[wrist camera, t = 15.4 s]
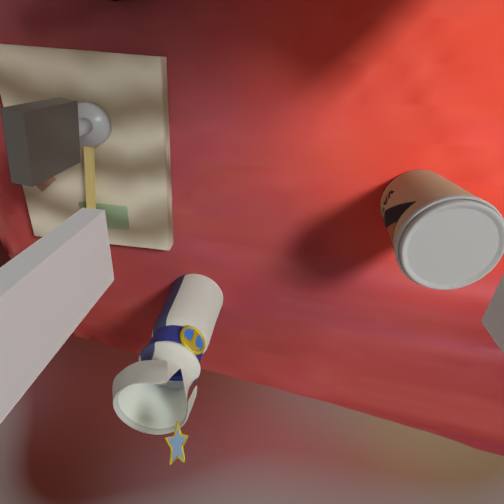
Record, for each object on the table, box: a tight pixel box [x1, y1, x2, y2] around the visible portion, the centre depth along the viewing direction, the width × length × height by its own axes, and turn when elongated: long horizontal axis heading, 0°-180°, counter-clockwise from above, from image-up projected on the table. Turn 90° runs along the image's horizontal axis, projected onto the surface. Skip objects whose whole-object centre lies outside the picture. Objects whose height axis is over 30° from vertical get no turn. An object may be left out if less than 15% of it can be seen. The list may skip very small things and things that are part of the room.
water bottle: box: [113, 274, 223, 465], centre depth 42 cm, size 8×9×25 cm
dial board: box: [0, 44, 174, 250], centre depth 43 cm, size 22×18×2 cm
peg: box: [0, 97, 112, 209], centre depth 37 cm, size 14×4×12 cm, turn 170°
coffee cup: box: [380, 170, 504, 290], centre depth 38 cm, size 9×9×12 cm
